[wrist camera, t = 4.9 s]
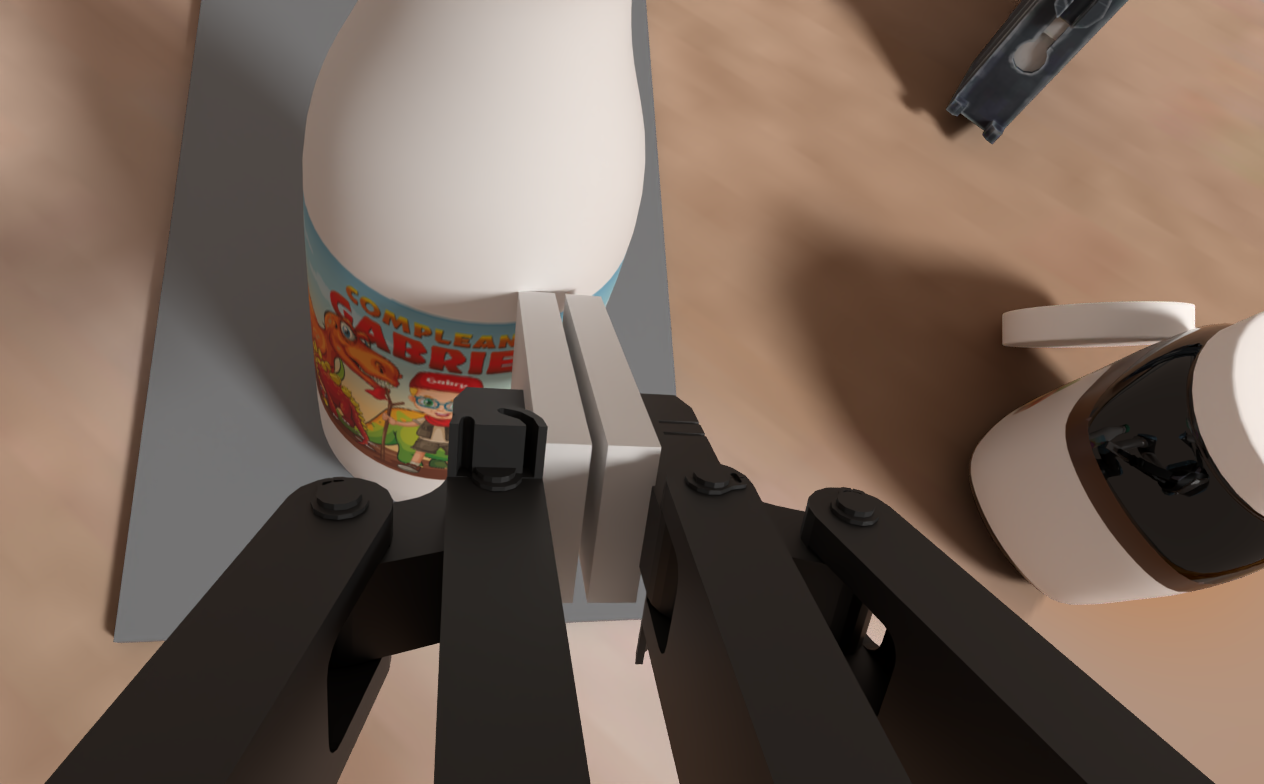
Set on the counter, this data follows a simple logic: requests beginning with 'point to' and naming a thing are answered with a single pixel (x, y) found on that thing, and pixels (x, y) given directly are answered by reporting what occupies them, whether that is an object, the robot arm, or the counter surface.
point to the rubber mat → (284, 313)
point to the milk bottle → (457, 205)
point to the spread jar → (1131, 456)
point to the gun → (1026, 58)
